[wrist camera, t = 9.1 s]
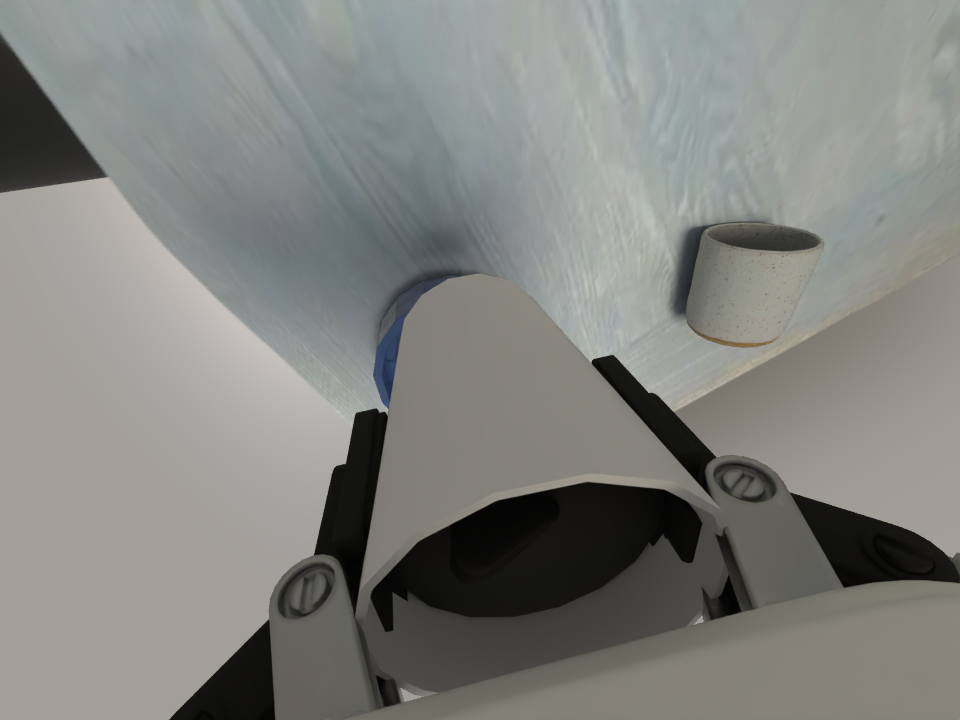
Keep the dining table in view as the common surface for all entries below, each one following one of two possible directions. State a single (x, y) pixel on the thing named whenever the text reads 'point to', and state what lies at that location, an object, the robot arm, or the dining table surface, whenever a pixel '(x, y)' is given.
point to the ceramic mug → (749, 281)
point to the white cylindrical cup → (518, 501)
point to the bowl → (396, 335)
